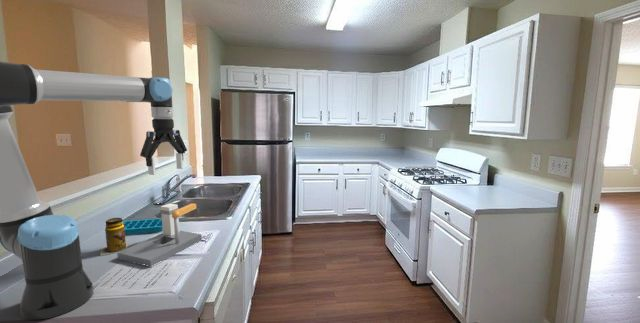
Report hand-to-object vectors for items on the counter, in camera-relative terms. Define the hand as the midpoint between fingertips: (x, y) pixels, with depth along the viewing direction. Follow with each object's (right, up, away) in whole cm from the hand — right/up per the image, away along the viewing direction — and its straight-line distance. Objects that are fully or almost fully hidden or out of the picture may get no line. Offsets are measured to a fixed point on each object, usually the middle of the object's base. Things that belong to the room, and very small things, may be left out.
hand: (166, 171), depth 120 cm
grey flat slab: (+1, -30, -5) cm, 30 cm away
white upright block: (0, -26, +4) cm, 26 cm away
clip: (+8, -26, -1) cm, 28 cm away
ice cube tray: (-18, -27, +15) cm, 36 cm away
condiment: (-17, -30, -6) cm, 35 cm away
